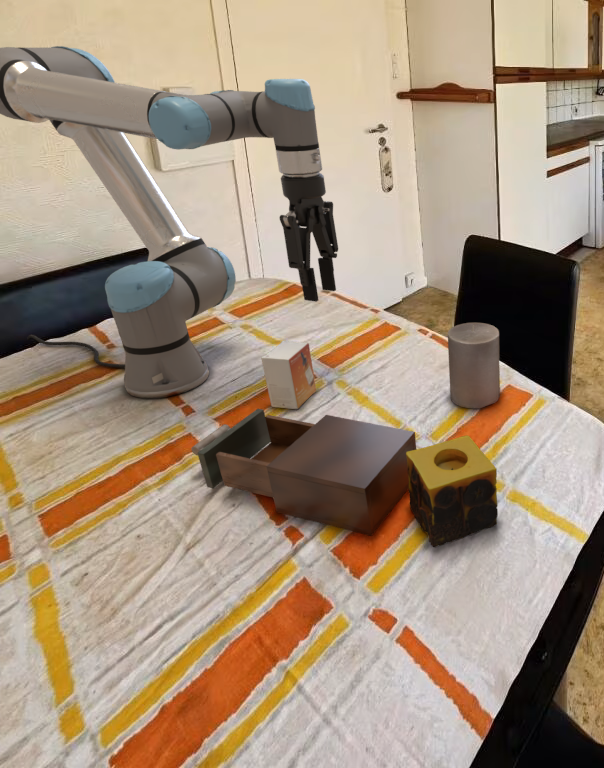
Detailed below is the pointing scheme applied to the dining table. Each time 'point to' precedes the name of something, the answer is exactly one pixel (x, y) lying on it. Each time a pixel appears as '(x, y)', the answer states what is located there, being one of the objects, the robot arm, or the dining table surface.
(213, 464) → the drawer
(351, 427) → the cabinet
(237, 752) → the dining table surface
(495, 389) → the grey upright cylinder
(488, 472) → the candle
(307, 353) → the small box
